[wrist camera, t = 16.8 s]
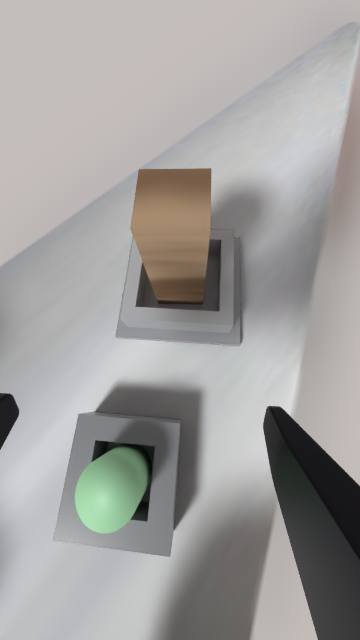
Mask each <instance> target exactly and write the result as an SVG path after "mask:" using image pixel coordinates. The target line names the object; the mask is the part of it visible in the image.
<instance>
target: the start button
mask: <svg viewBox="0 0 360 640" xmlns="http://www.w3.org/2000/svg"><path fill="white" fill-rule="evenodd" d="M151 476H152V464H151V460H150V457H149V455H148V453H147V452H146V451H145V450H144V449H143V448H142V447H141V446H139V445H137V444H128V443H123V444H120V445H118V446H116V447H115V448H113V449H112V450H110V451H109V452H107V453H105V454H104V455H102V456H101V457H99V458H98V459H96V460H94V461H93V462H92V463H90V464H89V465H88V466H87V467H86V468H85V470H84V471H83V472H82V474H81V476H80V478H79V480H78V483H77V486H76V491H75V505H76V510H77V513H78V515H79V517H80V519H81V521H82V522H83V523H84V524H85V526H87V527H88V528H89V529H91V530H92V531H95V532H97V533H105V534H106V533H112V532H115V531H117V530H119V529H121V528H122V527H123V526H125V525H126V524H127V523H128V522H129V520H130V519H131V518H132V516H133V514H134V513H135V511H136V509H137V507H138V505H139V503H140V501H141V499H142V497H143V495H144V493H145V491H146V489H147V487H148V485H149V483H150V480H151Z"/></svg>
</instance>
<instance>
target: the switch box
mask: <svg viewBox="0 0 360 640" xmlns="http://www.w3.org/2000/svg"><path fill="white" fill-rule="evenodd" d="M181 421H182V420H177V419H166V418H155V417H144V416H133V415H122V414H112V413H101V412H90V413H83V414H79V415H78V420H77V425H76V430H75V435H74V439H73V444H72V449H71V454H70V459H69V464H68V469H67V474H66V479H65V484H64V489H63V494H62V499H61V504H60V509H59V513H58V518H57V523H56V528H55V533H54V538H53V541H59V542H67V543H74V544H81V545H88V546H96V547H103V548H110V549H117V550H125V551H132V552H139V553H146V554H153V555H161V556H168V557H170V553H171V546H172V539H173V532H174V519H175V505H176V491H177V477H178V463H179V449H180V435H181ZM107 443H108V446H107ZM123 443H128V444H137V445H139V446H141V447H142V448H143V449H144V450H145V451H146V452H147V453H148V455H149V457H150V460H151V464H152V476H151V480H150V483H149V485H148V487H147V489H146V491H145V493H144V495H143V497H142V499H141V501H140V503H139V505H138V507H137V509H136V511H135V513H134V514H133V516H132V518H131V519H130V520H129V522H128V523H127V524H126V525H125V526H123V527H122V528H121V529H119V530H117V531H115V532H112V533H106V534H105V533H97V532H95V531H92V530H91V529H89V528H88V527H87V526H85V524H84V523H83V522H82V521H81V519H80V517H79V515H78V513H77V510H76V505H75V491H76V486H77V483H78V480H79V478H80V476H81V474H82V472H83V471H84V470H85V468H86V467H87V466H88V465H89V464H90V463H92V462H93V461H94V460H96V459H98V458H99V457H101V456H102V455H104V454H105V453H107V452H109V451H110V450H112V449H113V448H115V447H116V446H118V445H120V444H123ZM106 450H107V452H106Z"/></svg>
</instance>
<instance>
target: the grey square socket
mask: <svg viewBox="0 0 360 640" xmlns="http://www.w3.org/2000/svg"><path fill="white" fill-rule="evenodd" d="M116 337H117V338H125V339H141V340H156V341H171V342H186V343H201V344H216V345H231V346H239V345H240V238H234V230H222V229H211V230H210V240H209V249H208V259H207V269H206V278H205V288H204V298H203V305H190V304H158V302H157V299H156V296H155V294H154V291H153V288H152V285H151V283H150V280H149V277H148V275H147V272H146V269H145V267H144V264H143V261H142V258H141V256H140V253H139V250H138V248H137V245H136V242H135V240H134V237H133V239H132V244H131V250H130V256H129V262H128V267H127V273H126V279H125V285H124V291H123V296H122V302H121V308H120V314H119V320H118V325H117V331H116Z"/></svg>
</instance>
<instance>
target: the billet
mask: <svg viewBox="0 0 360 640" xmlns="http://www.w3.org/2000/svg"><path fill="white" fill-rule="evenodd" d="M130 229H131V232H132V234H133V237H134V240H135V242H136V245H137V248H138V250H139V253H140V256H141V258H142V261H143V264H144V267H145V269H146V272H147V275H148V277H149V280H150V283H151V285H152V288H153V291H154V294H155V296H156V299H157V302H158V304H190V305H203V298H204V288H205V278H206V269H207V259H208V249H209V240H210V230H211V169H139V172H138V179H137V186H136V193H135V200H134V207H133V214H132V221H131V228H130Z"/></svg>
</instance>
